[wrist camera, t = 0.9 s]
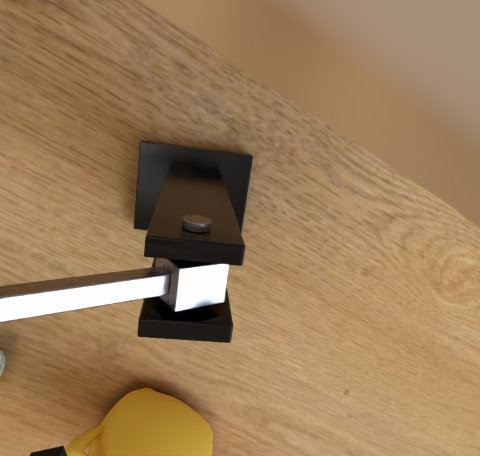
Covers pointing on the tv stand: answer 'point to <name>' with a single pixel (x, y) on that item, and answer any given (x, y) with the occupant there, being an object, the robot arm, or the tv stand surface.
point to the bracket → (190, 227)
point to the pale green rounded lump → (2, 362)
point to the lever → (119, 289)
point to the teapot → (147, 429)
